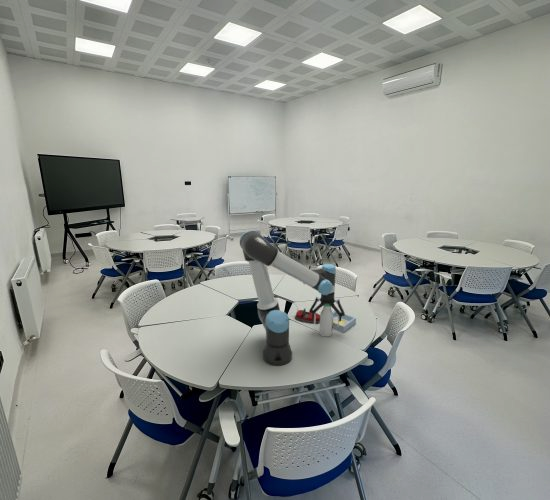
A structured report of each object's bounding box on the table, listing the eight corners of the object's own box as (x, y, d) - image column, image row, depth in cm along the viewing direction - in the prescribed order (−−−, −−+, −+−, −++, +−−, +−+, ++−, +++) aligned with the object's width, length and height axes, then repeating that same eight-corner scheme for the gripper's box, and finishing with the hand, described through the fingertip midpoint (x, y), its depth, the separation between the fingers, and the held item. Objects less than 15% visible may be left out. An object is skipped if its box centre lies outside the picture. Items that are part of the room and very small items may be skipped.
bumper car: (319, 326, 177) (319, 311, 174) (289, 319, 185) (289, 305, 182) (323, 319, 186) (323, 304, 183) (294, 313, 193) (294, 299, 191)
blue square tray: (343, 332, 169) (343, 326, 168) (322, 324, 179) (322, 318, 178) (355, 323, 179) (356, 317, 178) (335, 315, 189) (335, 310, 188)
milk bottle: (329, 338, 163) (331, 306, 158) (317, 334, 167) (318, 303, 162) (334, 332, 170) (336, 301, 164) (322, 328, 173) (323, 298, 168)
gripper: (350, 290, 162) (348, 323, 168) (306, 286, 168) (305, 319, 173) (350, 295, 155) (348, 330, 161) (305, 291, 161) (304, 325, 166)
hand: (326, 324), depth 167 cm, fingers open, 13 cm apart
